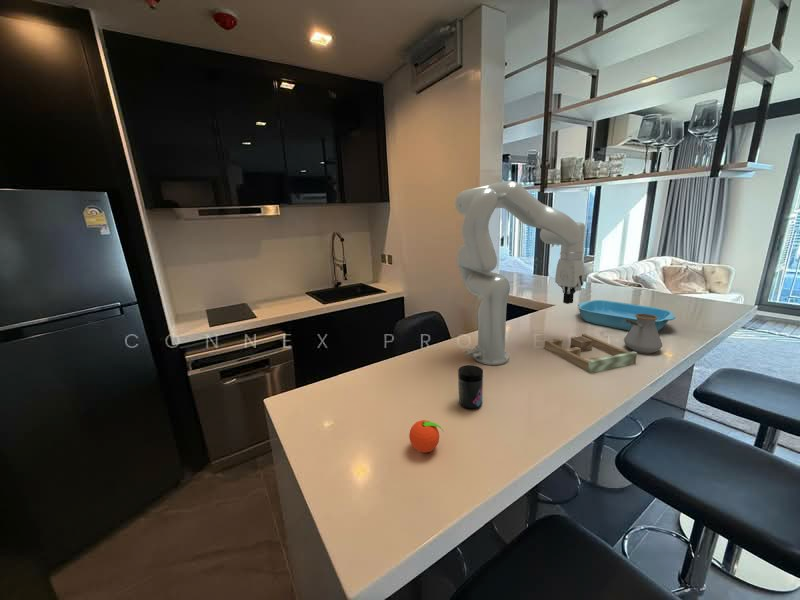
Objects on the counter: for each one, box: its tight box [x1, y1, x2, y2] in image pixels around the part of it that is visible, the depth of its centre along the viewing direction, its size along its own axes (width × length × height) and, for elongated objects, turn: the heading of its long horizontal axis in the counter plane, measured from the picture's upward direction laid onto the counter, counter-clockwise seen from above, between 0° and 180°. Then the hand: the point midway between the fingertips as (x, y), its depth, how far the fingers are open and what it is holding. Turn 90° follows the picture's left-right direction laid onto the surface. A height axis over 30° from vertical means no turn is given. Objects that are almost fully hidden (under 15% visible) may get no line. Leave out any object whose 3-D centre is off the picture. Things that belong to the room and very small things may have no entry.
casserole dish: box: [577, 299, 676, 332], centre depth 148 cm, size 37×22×7 cm, turn 39°
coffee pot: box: [622, 314, 663, 354], centre depth 117 cm, size 21×12×15 cm, turn 122°
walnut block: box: [570, 335, 593, 353], centre depth 124 cm, size 5×5×4 cm
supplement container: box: [457, 364, 484, 411], centre depth 92 cm, size 7×7×10 cm
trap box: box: [544, 333, 638, 374], centre depth 119 cm, size 19×22×4 cm
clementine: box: [408, 419, 444, 454], centre depth 76 cm, size 8×7×7 cm
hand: (568, 302), depth 129 cm, fingers closed
